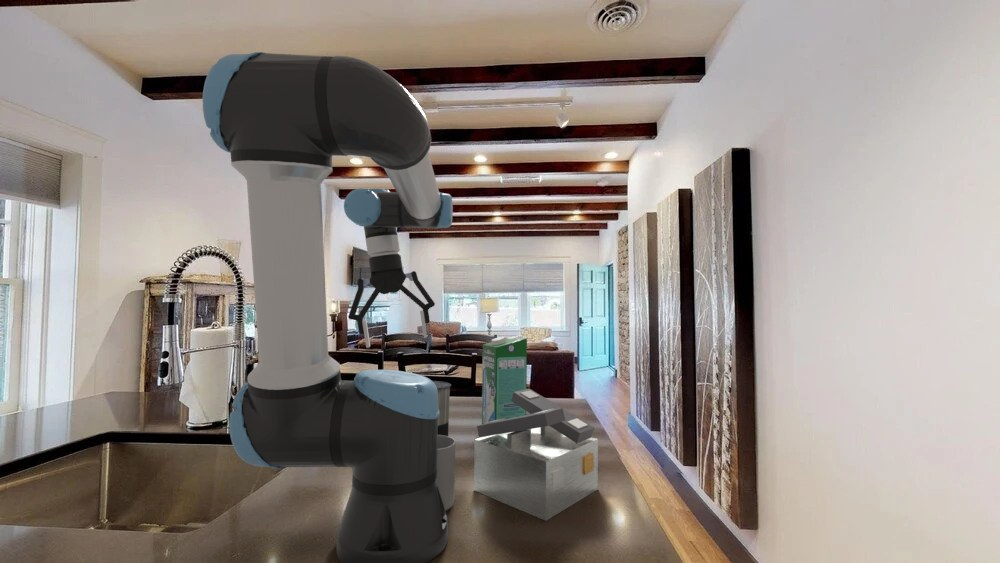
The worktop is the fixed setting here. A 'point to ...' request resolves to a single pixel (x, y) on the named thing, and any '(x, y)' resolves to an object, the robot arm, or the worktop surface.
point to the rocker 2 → (537, 403)
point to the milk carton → (503, 377)
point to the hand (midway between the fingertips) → (397, 342)
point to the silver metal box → (535, 470)
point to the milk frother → (443, 407)
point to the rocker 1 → (522, 422)
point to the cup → (446, 469)
